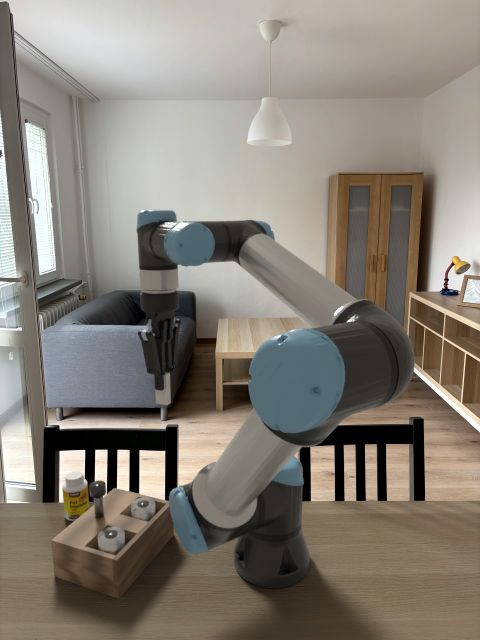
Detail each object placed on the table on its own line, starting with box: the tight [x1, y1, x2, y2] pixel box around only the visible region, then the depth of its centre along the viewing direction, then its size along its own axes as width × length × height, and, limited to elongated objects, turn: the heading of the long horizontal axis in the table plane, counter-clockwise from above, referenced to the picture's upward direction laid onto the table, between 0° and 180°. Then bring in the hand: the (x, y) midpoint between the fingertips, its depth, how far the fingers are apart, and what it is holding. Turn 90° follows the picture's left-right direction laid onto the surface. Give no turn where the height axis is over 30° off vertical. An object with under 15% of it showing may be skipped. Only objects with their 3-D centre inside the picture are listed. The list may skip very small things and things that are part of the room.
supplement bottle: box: [61, 470, 90, 522], centre depth 117 cm, size 6×6×10 cm
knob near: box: [98, 527, 125, 556], centre depth 97 cm, size 5×5×9 cm
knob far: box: [131, 498, 156, 522], centre depth 107 cm, size 5×5×9 cm
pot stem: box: [88, 480, 107, 518], centre depth 103 cm, size 3×3×7 cm
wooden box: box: [50, 487, 175, 599], centre depth 103 cm, size 15×20×8 cm
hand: (163, 403), depth 105 cm, fingers closed
